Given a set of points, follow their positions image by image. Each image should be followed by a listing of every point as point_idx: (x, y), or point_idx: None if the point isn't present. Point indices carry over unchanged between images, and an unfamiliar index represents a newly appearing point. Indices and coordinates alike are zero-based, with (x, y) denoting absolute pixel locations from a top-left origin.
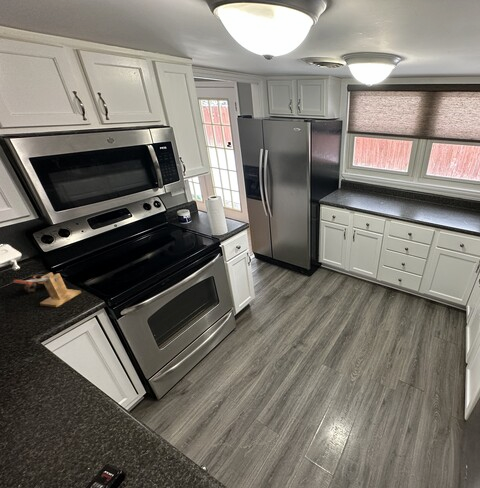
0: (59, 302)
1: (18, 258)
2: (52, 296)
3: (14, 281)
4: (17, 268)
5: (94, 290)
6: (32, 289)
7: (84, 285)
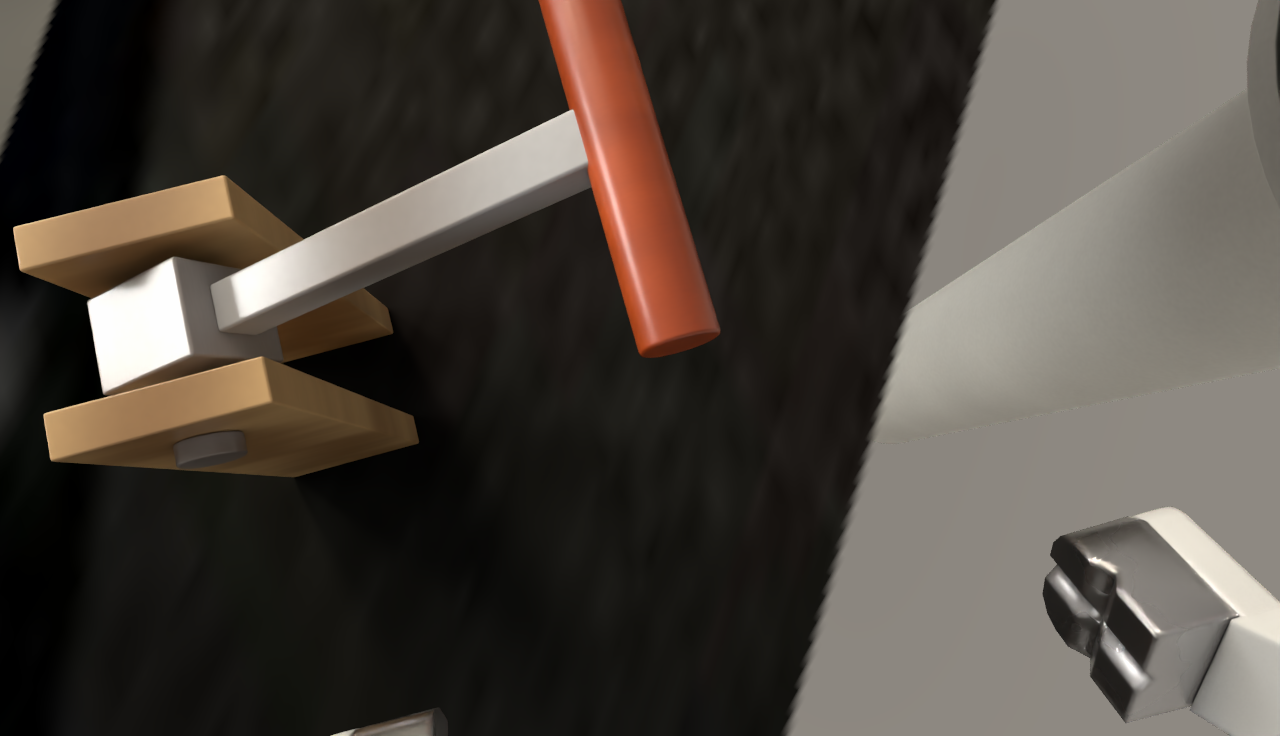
0: None
1: None
2: (405, 413)
3: (705, 285)
4: (394, 721)
5: (93, 108)
6: None
7: (55, 359)
